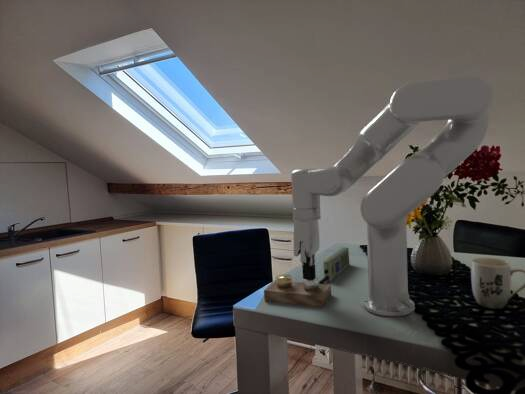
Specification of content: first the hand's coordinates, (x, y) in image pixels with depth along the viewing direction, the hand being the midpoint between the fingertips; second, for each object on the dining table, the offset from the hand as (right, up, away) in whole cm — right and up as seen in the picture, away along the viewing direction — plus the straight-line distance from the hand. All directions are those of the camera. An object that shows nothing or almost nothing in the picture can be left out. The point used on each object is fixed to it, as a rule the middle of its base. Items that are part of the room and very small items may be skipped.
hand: (309, 278), depth 103 cm
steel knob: (+1, -6, 0) cm, 6 cm away
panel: (-3, -6, +2) cm, 7 cm away
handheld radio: (+11, -4, +21) cm, 24 cm away
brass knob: (-7, -6, +4) cm, 9 cm away
